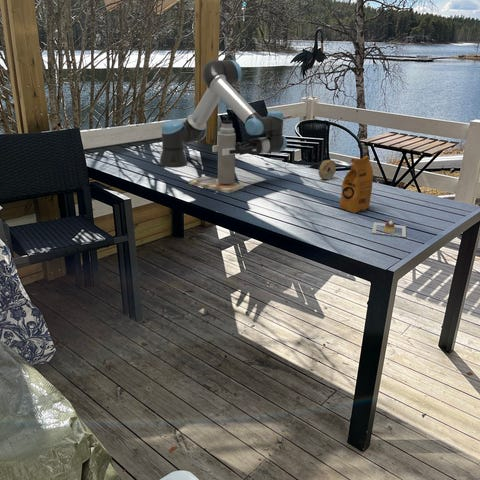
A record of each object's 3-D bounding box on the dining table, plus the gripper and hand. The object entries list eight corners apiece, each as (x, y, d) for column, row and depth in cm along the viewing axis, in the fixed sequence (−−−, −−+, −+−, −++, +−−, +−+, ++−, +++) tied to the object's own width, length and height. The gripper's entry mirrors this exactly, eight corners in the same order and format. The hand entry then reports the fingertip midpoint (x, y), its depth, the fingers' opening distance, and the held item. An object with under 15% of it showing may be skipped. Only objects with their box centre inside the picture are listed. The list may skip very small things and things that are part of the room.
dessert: (373, 224, 193) (374, 213, 191) (405, 228, 190) (407, 217, 188) (371, 235, 182) (373, 223, 181) (405, 239, 179) (407, 227, 177)
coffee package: (335, 208, 210) (341, 156, 201) (353, 202, 217) (359, 153, 209) (354, 214, 203) (360, 161, 194) (372, 208, 210) (379, 157, 202)
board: (188, 183, 238) (188, 180, 238) (204, 178, 248) (204, 175, 247) (228, 193, 226) (228, 189, 225) (243, 187, 235) (243, 183, 234)
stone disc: (330, 176, 258) (332, 157, 254) (335, 178, 255) (337, 159, 252) (316, 179, 252) (318, 160, 248) (321, 181, 249) (323, 161, 246)
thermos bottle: (222, 178, 237) (223, 118, 226) (237, 180, 234) (238, 120, 223) (214, 182, 230) (215, 121, 220) (230, 184, 227) (231, 122, 217)
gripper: (270, 158, 230) (230, 163, 218) (245, 149, 245) (206, 154, 233) (271, 141, 227) (230, 146, 215) (246, 134, 243) (206, 138, 230)
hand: (217, 150), depth 224 cm, fingers closed on thermos bottle, 8 cm apart
